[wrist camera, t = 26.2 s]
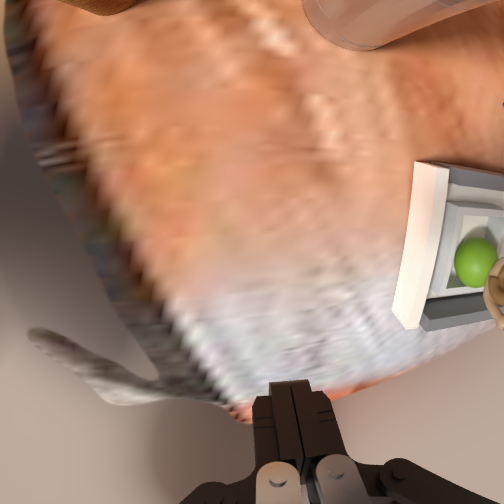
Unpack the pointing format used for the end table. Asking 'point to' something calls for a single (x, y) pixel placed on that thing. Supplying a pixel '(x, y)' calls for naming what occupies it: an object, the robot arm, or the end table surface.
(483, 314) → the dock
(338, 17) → the robot arm
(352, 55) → the end table surface
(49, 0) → the end table surface
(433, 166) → the tray
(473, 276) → the snail figurine
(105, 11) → the disposable coffee cup
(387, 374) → the end table surface
